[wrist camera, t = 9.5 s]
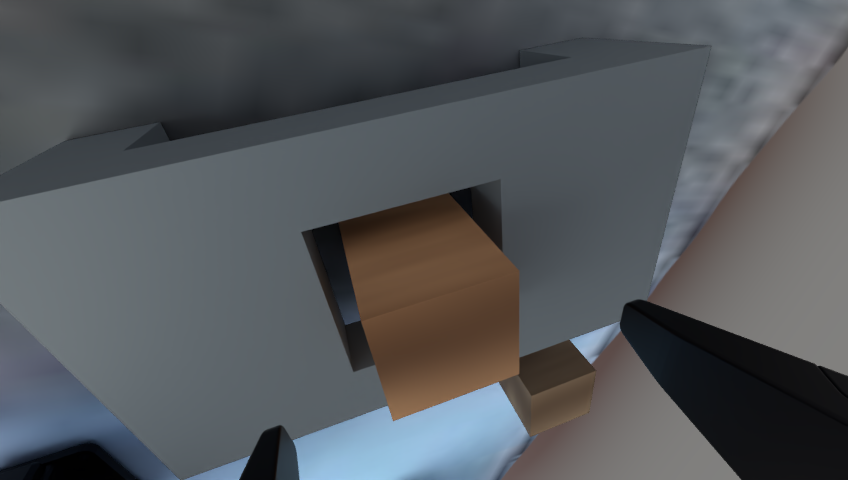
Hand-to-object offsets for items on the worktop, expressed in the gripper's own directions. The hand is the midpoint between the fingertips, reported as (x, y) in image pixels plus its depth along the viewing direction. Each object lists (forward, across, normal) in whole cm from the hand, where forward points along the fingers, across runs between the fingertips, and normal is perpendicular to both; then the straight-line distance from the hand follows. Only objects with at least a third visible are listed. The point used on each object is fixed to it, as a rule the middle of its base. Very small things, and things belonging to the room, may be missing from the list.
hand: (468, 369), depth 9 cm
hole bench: (+10, 0, 0) cm, 10 cm away
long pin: (+10, 0, 0) cm, 10 cm away
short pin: (+10, -7, +13) cm, 17 cm away
